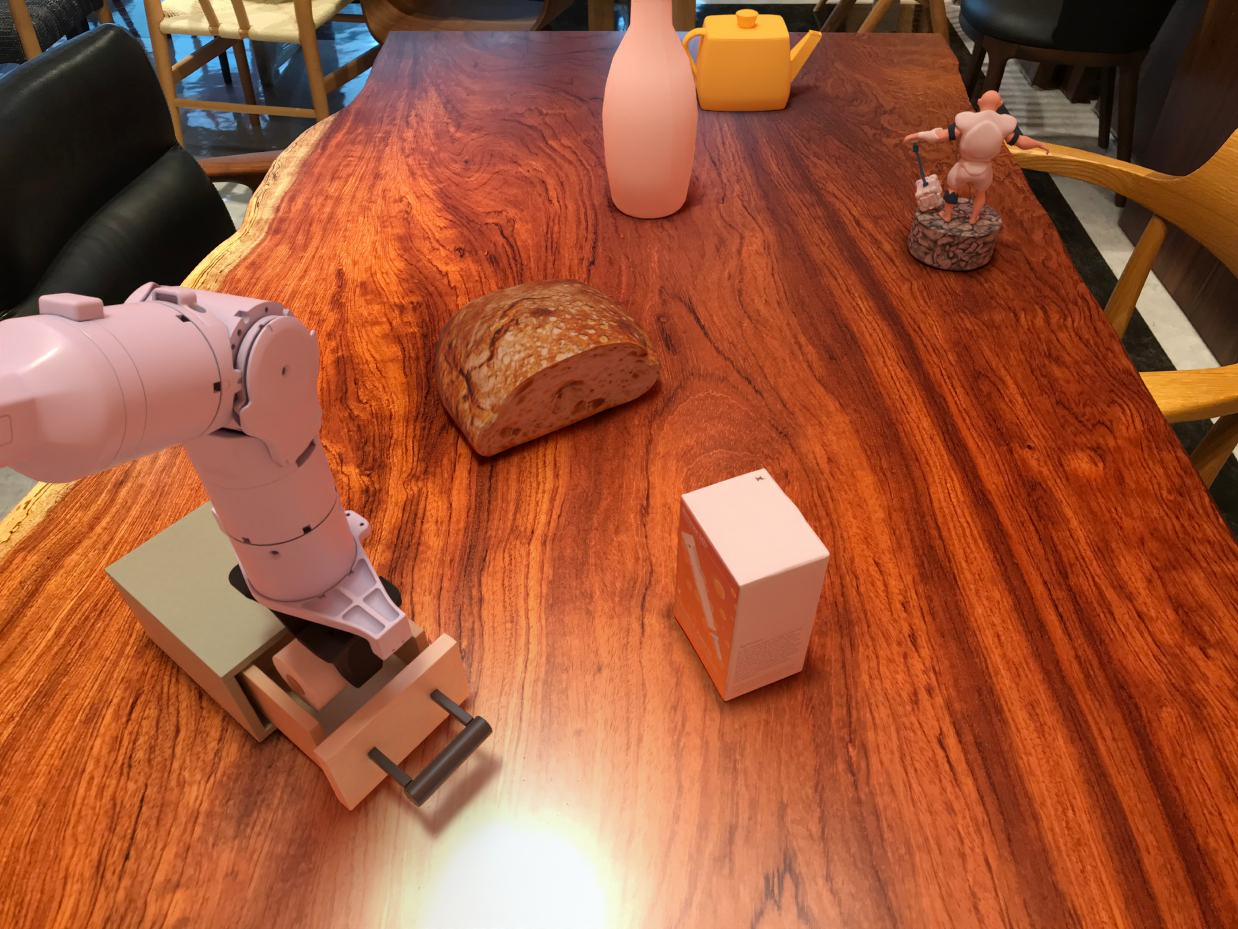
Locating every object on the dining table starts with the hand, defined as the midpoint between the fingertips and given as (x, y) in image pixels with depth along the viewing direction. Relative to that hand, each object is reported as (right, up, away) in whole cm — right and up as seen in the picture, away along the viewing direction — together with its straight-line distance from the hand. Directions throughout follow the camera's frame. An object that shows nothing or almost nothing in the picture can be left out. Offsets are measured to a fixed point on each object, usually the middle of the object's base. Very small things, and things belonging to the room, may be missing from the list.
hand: (342, 654), depth 54 cm
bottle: (+21, +44, +55) cm, 74 cm away
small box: (+25, -1, +9) cm, 27 cm away
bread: (+10, +20, +31) cm, 38 cm away
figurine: (+54, +36, +46) cm, 80 cm away
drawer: (+1, -5, +4) cm, 6 cm away
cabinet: (-8, -1, +10) cm, 13 cm away
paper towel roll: (-2, +2, 0) cm, 2 cm away
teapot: (+36, +67, +78) cm, 109 cm away
